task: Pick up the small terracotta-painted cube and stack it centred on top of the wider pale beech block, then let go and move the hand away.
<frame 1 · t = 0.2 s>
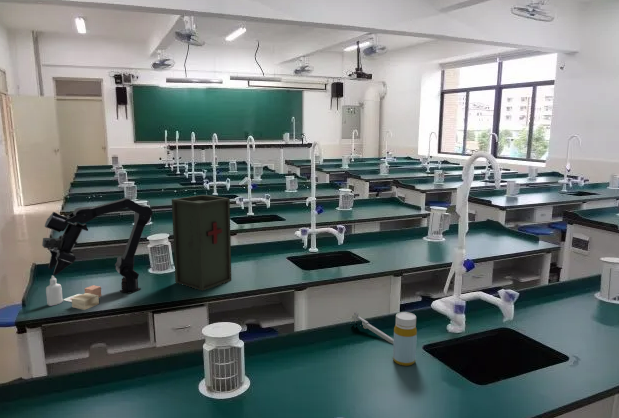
hand: (52, 271, 185), 14 cm above the countertop, tool tilted 30°, fingers open, 9 cm apart
instruction card: (75, 298, 196), on the countertop
eye dropper bottle: (55, 304, 189), on the countertop
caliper: (373, 336, 162), on the countertop
terracotta brick: (93, 297, 197), on the countertop
first aid box: (203, 282, 218), on the countertop
beech base block: (85, 306, 188), on the countertop
bottle: (403, 361, 144), on the countertop
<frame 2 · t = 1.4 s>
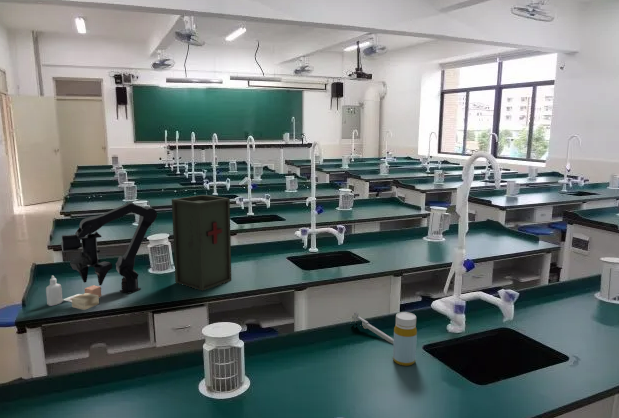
hand: (92, 283, 196), 6 cm above the countertop, tool pointing down, fingers open, 9 cm apart
nothing on the countertop moved.
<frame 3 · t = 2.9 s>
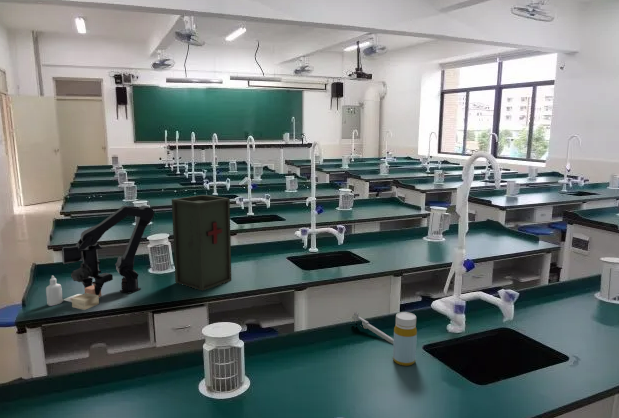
hand: (93, 294, 197), 1 cm above the countertop, tool pointing down, fingers closed on terracotta brick, 4 cm apart
terracotta brick: (93, 297, 197), on the countertop, touching gripper
everything else where it was.
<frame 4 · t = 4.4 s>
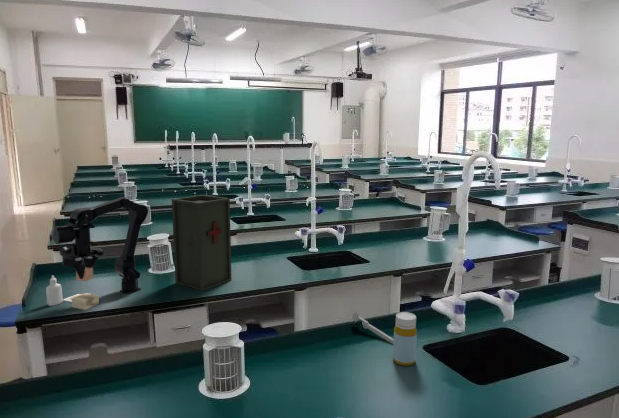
hand: (85, 276, 188), 11 cm above the countertop, tool pointing down, fingers closed on terracotta brick, 4 cm apart
terracotta brick: (85, 279, 188), point 10 cm above the countertop, touching gripper
everything else where it was.
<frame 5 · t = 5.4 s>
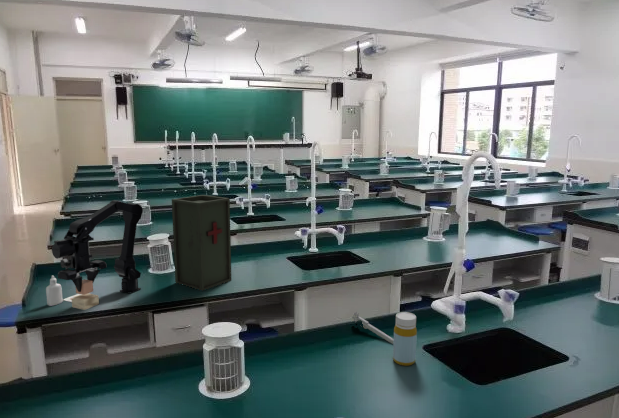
hand: (84, 289, 186), 7 cm above the countertop, tool pointing down, fingers closed on terracotta brick, 4 cm apart
terracotta brick: (84, 292, 187), point 6 cm above the countertop, touching gripper
everything else where it was.
when the fingers open (6 cm above the countertop, at t = 6.1 s): terracotta brick drops 2 cm, resting on beech base block.
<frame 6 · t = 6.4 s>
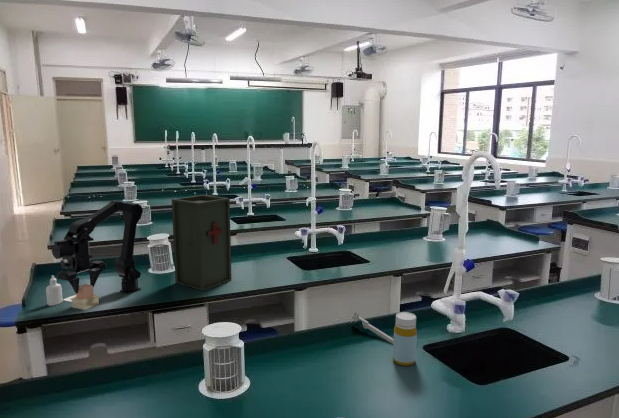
hand: (84, 290, 186), 6 cm above the countertop, tool pointing down, fingers open, 7 cm apart
terracotta brick: (85, 296, 187), point 4 cm above the countertop, touching beech base block
beech base block: (85, 306, 187), on the countertop, touching terracotta brick
everything else where it was.
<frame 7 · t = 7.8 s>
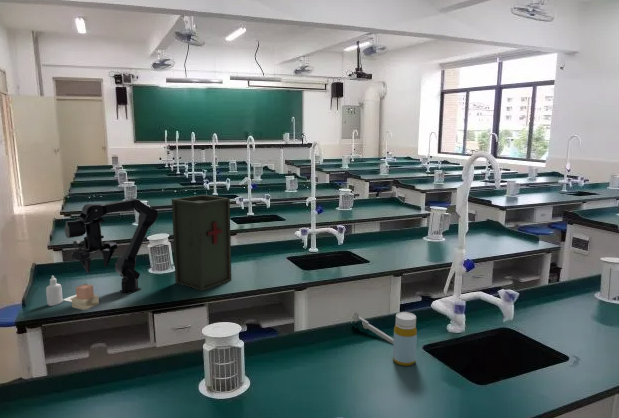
hand: (97, 269, 193), 13 cm above the countertop, tool pointing down, fingers open, 9 cm apart
nothing on the countertop moved.
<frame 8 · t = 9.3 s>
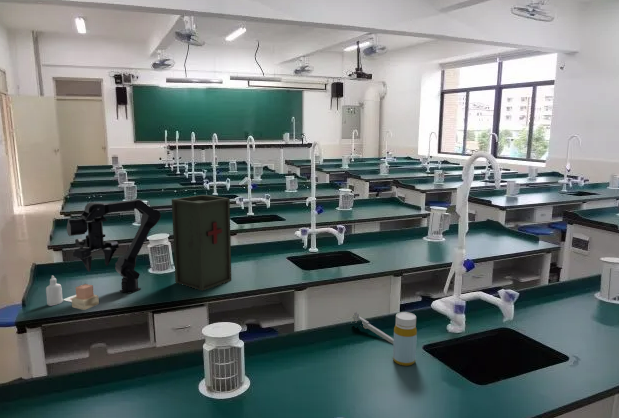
hand: (98, 268, 194), 13 cm above the countertop, tool pointing down, fingers open, 9 cm apart
terracotta brick: (85, 296, 187), point 4 cm above the countertop
beech base block: (85, 306, 187), on the countertop
everything else where it was.
at the end: terracotta brick 0.1 cm off-centre on the beech base block, point 4.0 cm above the beech base block's base; terracotta brick tilted 0°; the gripper is holding nothing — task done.
